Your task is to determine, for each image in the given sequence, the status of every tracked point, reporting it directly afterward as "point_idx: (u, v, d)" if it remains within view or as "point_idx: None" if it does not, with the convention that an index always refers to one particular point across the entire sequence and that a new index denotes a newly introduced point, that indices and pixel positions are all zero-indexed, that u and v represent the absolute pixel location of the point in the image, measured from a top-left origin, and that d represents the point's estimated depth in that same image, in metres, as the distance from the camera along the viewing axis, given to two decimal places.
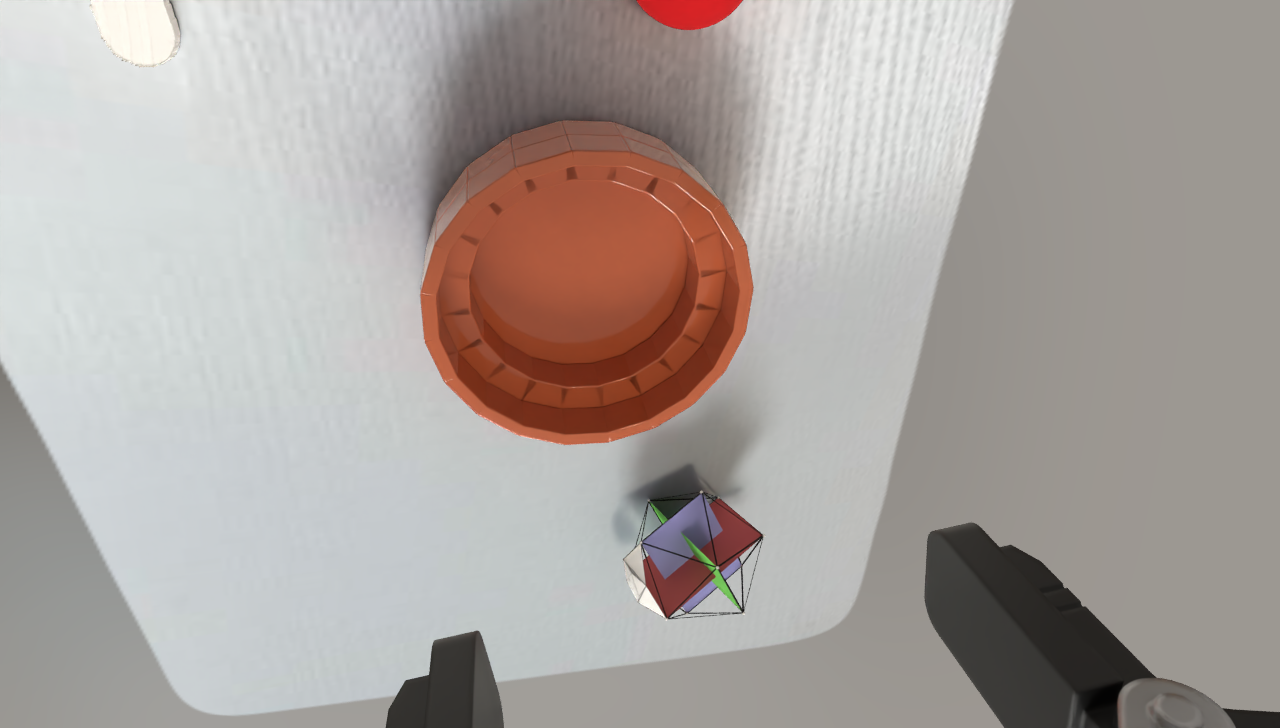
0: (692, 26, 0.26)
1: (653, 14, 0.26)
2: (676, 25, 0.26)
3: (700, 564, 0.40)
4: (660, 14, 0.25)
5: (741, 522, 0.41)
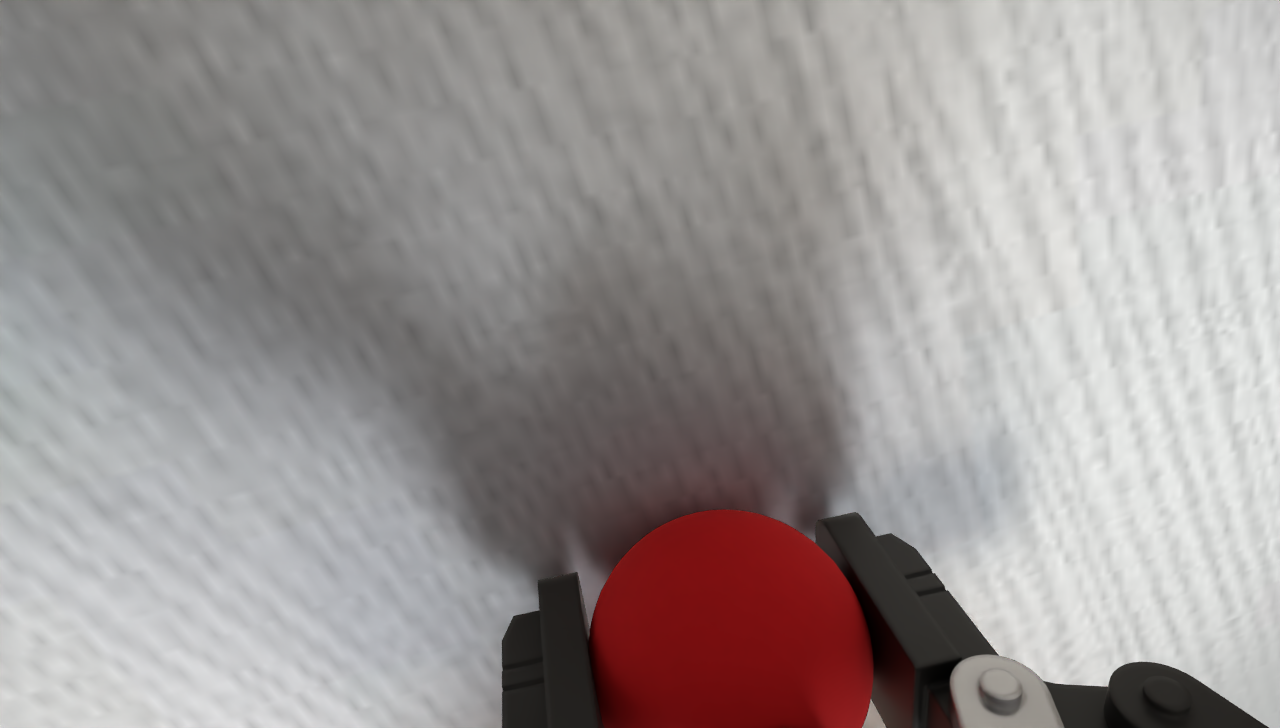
0: None
1: None
2: None
3: None
4: None
5: None
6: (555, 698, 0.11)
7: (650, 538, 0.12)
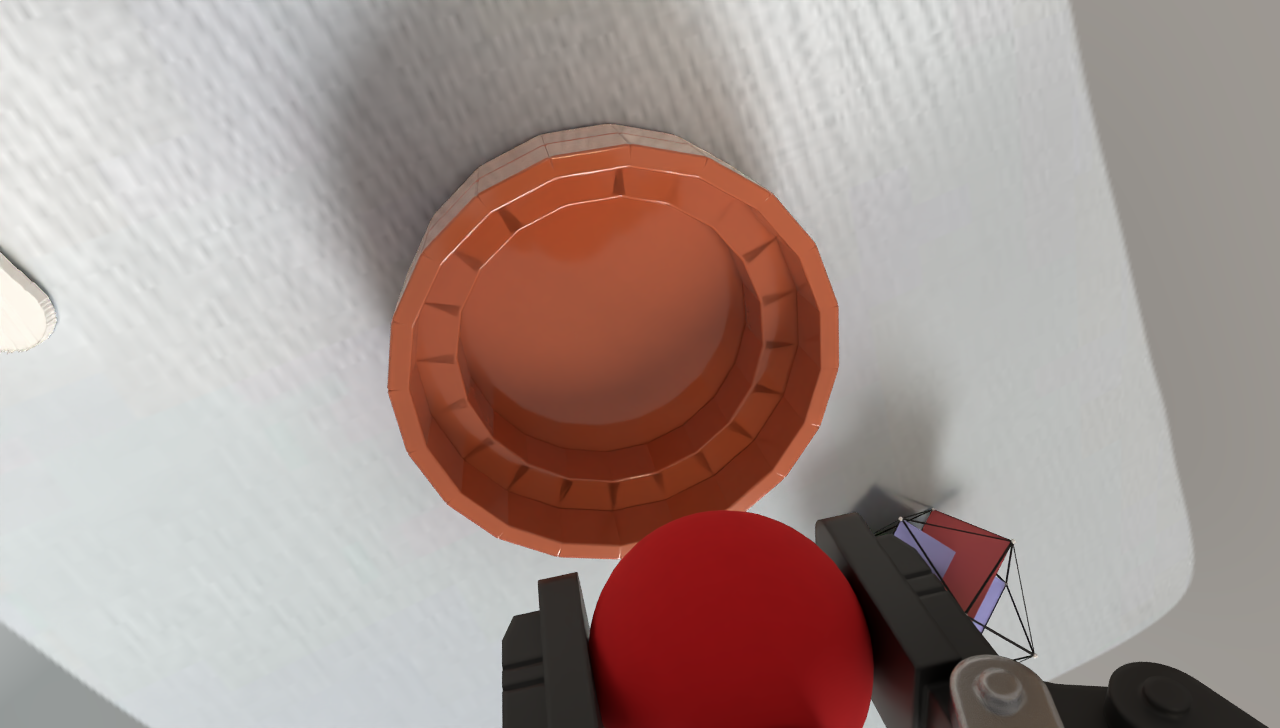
0: None
1: None
2: None
3: None
4: None
5: (975, 532, 0.30)
6: (555, 698, 0.11)
7: (650, 539, 0.12)
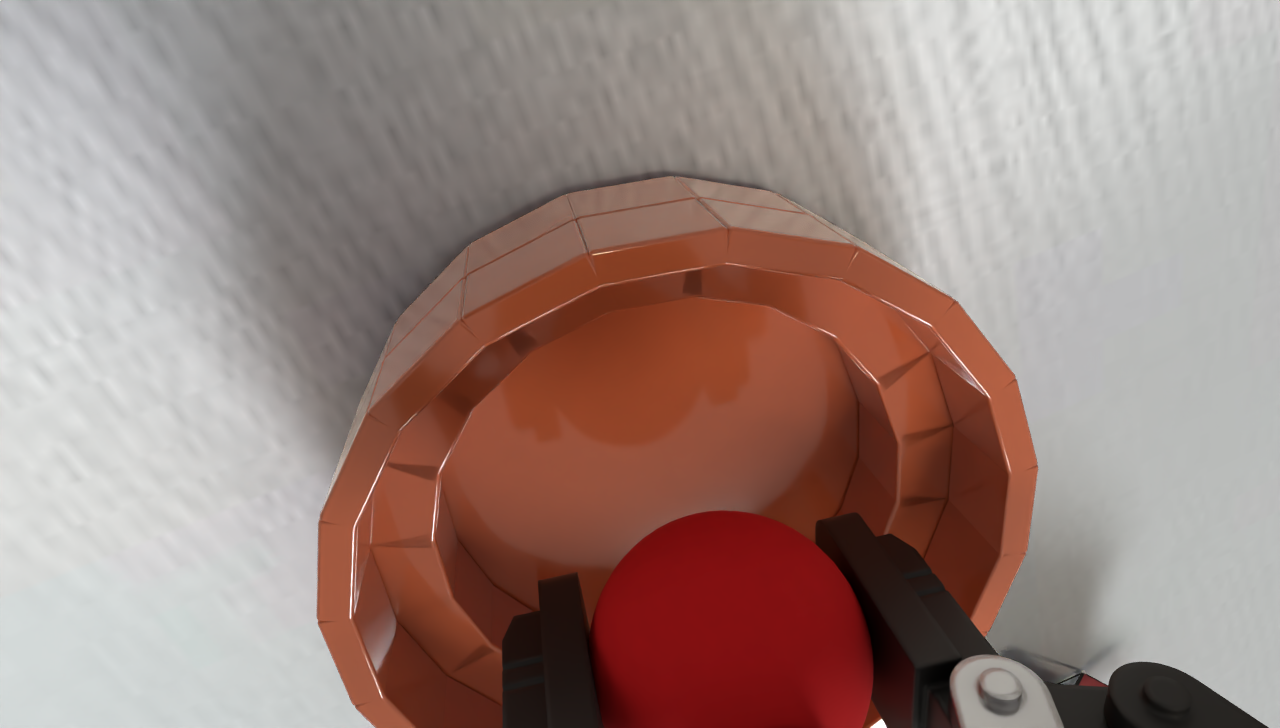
0: None
1: None
2: None
3: None
4: None
5: None
6: (555, 698, 0.11)
7: (650, 539, 0.12)
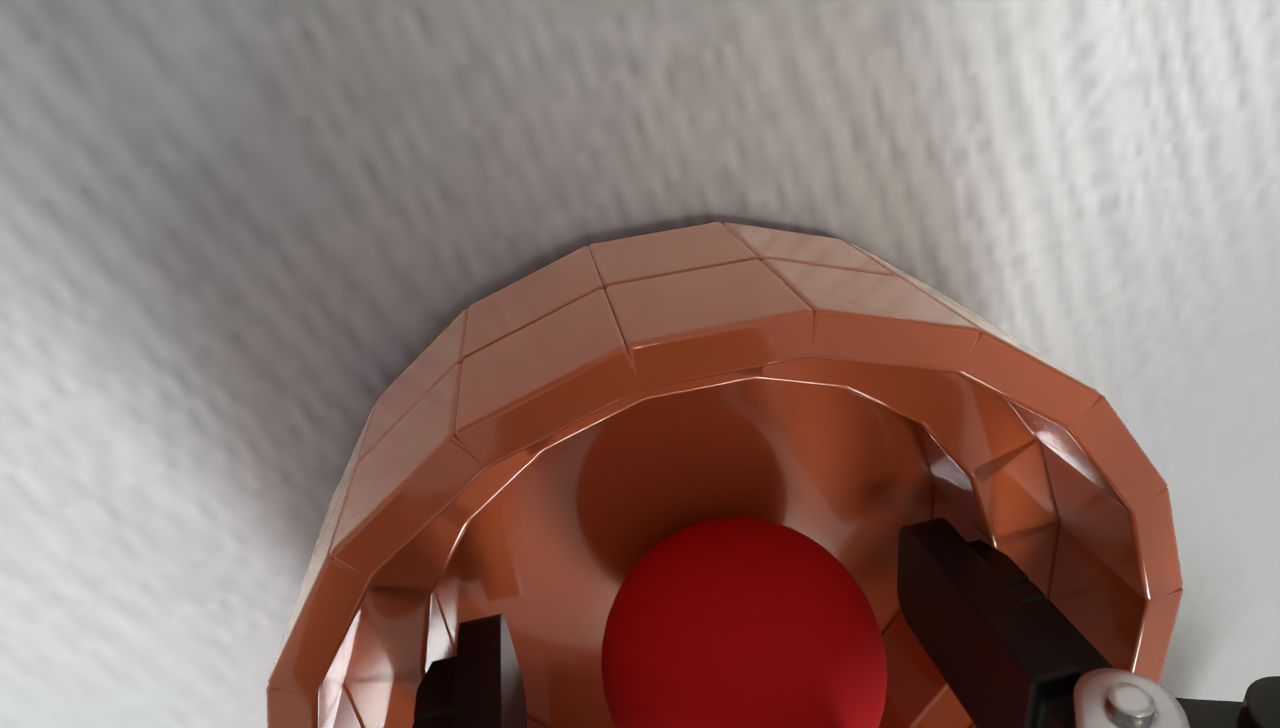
0: None
1: None
2: None
3: None
4: None
5: None
6: None
7: (662, 549, 0.12)
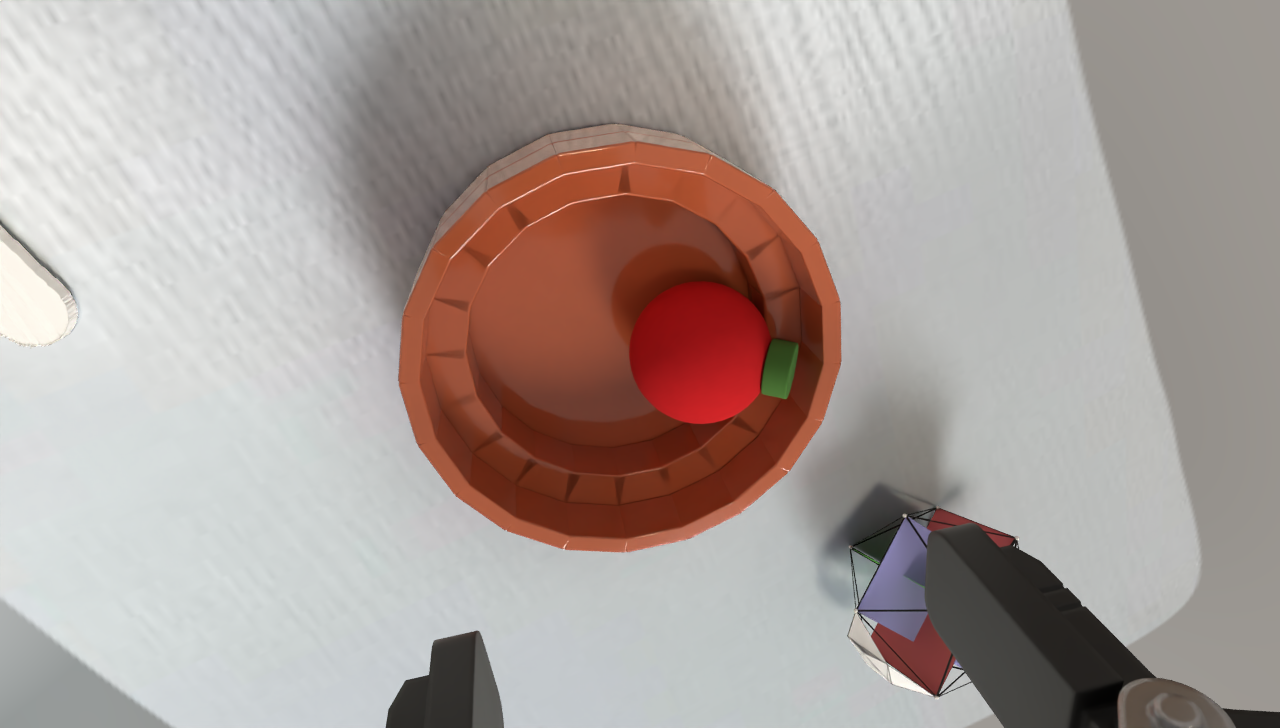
0: None
1: None
2: None
3: None
4: None
5: None
6: None
7: (668, 309, 0.23)
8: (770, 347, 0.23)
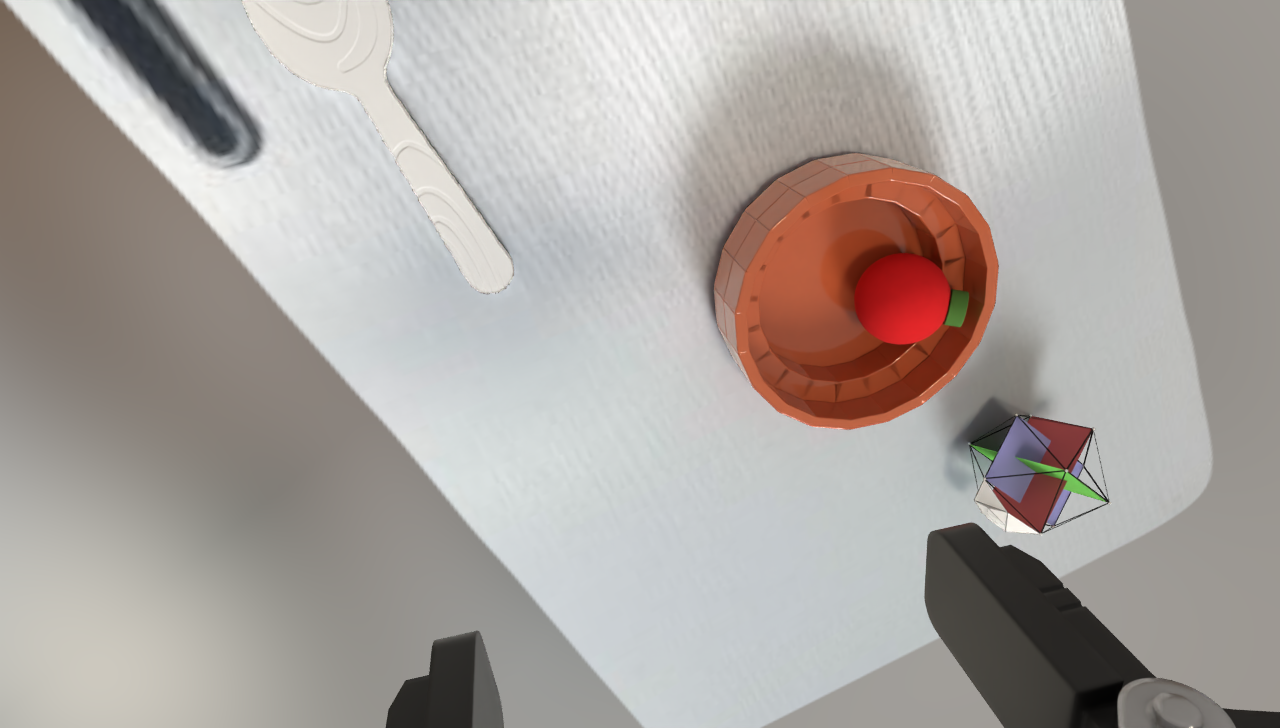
0: None
1: None
2: None
3: (1046, 477, 0.43)
4: None
5: (1065, 427, 0.44)
6: None
7: (890, 269, 0.36)
8: (952, 294, 0.36)
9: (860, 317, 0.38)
